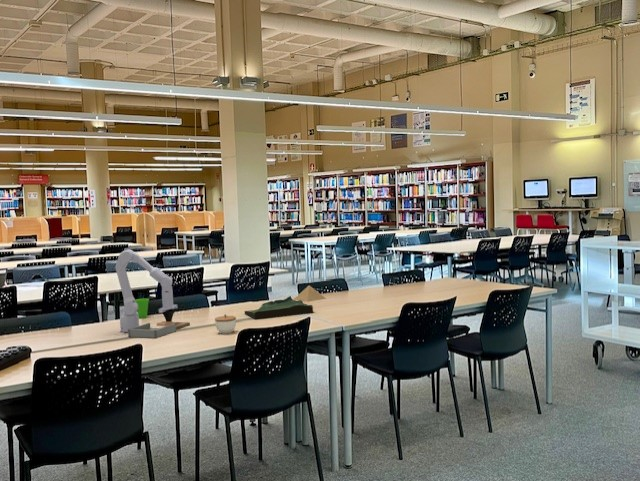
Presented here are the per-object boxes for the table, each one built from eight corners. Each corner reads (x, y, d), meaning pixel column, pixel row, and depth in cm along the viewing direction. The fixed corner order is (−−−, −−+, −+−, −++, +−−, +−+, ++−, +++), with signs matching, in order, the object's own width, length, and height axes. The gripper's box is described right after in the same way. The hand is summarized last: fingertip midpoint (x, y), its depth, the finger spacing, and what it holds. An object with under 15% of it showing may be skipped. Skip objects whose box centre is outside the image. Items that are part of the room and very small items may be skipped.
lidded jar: (237, 329, 317) (236, 312, 316) (235, 334, 306) (234, 315, 305) (217, 330, 316) (216, 313, 316) (214, 335, 306) (213, 316, 305)
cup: (131, 319, 362) (130, 301, 362) (139, 316, 371) (138, 298, 371) (145, 319, 360) (144, 300, 360) (152, 316, 369) (151, 298, 368)
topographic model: (300, 308, 377) (299, 292, 376) (313, 313, 357) (312, 297, 356) (244, 314, 363) (243, 298, 362) (255, 320, 343) (254, 303, 343)
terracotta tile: (156, 327, 323) (156, 323, 323) (163, 325, 329) (163, 321, 329) (166, 328, 321) (166, 323, 321) (172, 326, 327) (172, 321, 327)
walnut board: (151, 330, 325) (151, 327, 325) (168, 324, 340) (168, 321, 340) (173, 331, 320) (173, 328, 320) (189, 325, 335) (189, 322, 335)
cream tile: (149, 332, 318) (149, 327, 318) (156, 330, 323) (156, 325, 323) (159, 332, 316) (159, 328, 316) (166, 330, 321) (165, 325, 321)
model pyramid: (310, 296, 424) (310, 282, 423) (326, 299, 410) (326, 284, 410) (292, 300, 413) (291, 285, 413) (307, 302, 400) (307, 287, 399)
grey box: (128, 337, 310) (128, 329, 310) (148, 330, 326) (148, 322, 326) (156, 338, 304) (155, 330, 304) (175, 331, 320) (175, 323, 320)
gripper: (165, 301, 320) (167, 326, 321) (181, 296, 333) (182, 321, 334) (154, 300, 322) (156, 326, 323) (170, 296, 336) (172, 320, 337)
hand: (169, 323), depth 329 cm, fingers closed
